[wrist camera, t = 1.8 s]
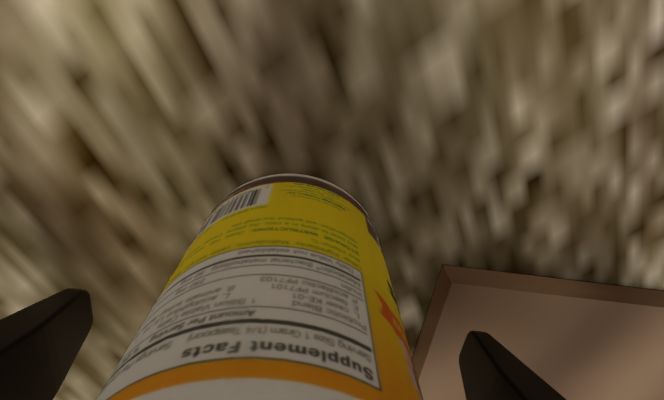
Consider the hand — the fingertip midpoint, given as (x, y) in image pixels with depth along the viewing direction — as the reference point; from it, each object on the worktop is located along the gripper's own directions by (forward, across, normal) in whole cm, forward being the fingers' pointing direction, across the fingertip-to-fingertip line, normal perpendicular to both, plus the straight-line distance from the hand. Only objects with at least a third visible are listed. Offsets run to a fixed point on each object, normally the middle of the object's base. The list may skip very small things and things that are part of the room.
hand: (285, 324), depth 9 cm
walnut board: (+4, -10, +5) cm, 12 cm away
